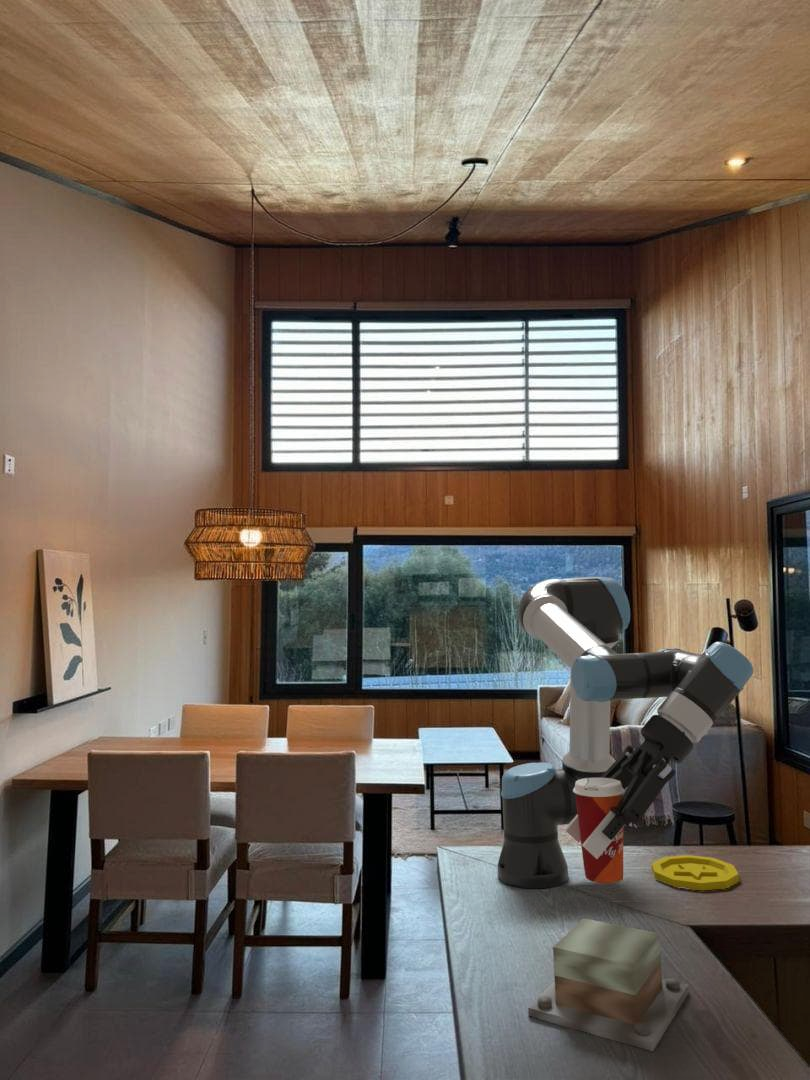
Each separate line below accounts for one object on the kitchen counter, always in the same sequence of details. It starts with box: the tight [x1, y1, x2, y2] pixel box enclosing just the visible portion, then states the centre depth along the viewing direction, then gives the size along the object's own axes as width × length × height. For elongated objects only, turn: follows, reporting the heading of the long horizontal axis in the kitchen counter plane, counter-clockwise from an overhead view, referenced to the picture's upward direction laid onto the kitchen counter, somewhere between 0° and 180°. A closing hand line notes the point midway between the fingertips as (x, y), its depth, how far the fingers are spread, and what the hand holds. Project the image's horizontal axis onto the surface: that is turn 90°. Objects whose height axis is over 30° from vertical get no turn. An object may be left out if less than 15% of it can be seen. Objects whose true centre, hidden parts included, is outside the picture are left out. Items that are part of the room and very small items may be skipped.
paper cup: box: [573, 778, 625, 884], centre depth 121 cm, size 8×8×14 cm
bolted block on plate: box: [527, 917, 690, 1052], centre depth 118 cm, size 18×18×9 cm
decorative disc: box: [651, 854, 740, 891], centre depth 169 cm, size 17×18×2 cm
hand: (580, 843), depth 120 cm, fingers closed on paper cup, 8 cm apart
